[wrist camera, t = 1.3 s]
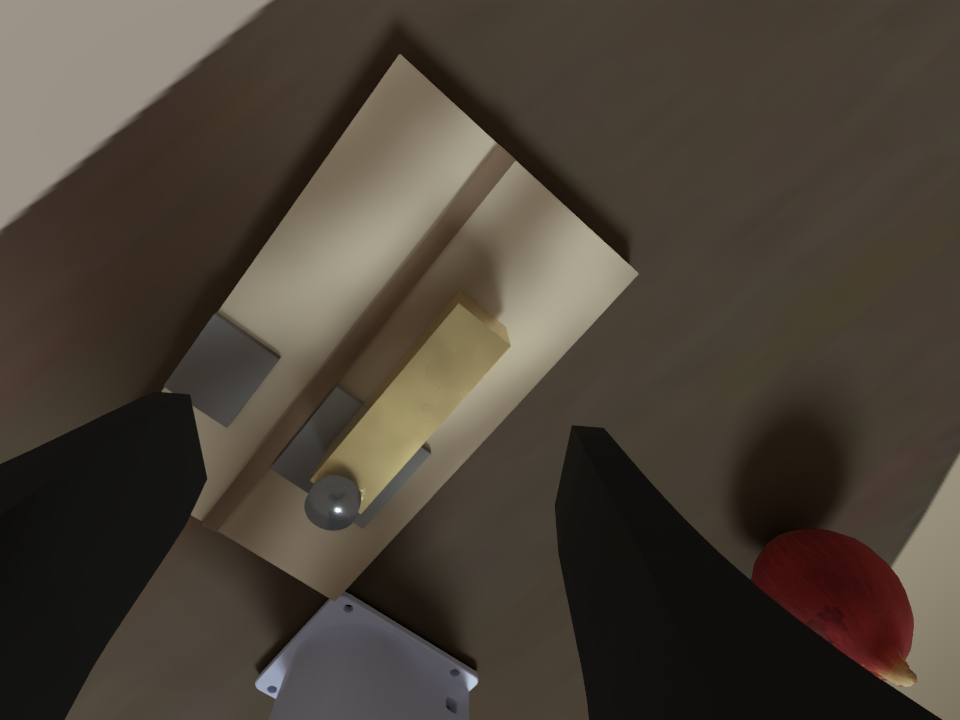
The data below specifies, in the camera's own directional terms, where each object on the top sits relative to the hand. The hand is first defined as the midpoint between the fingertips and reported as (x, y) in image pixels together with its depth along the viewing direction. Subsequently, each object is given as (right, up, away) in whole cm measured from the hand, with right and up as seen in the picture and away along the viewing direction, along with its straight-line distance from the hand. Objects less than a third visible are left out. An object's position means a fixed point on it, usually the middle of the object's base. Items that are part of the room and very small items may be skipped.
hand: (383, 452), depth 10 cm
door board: (-3, +2, +13) cm, 14 cm away
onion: (+17, -8, +17) cm, 25 cm away
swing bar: (-1, 0, +12) cm, 12 cm away
